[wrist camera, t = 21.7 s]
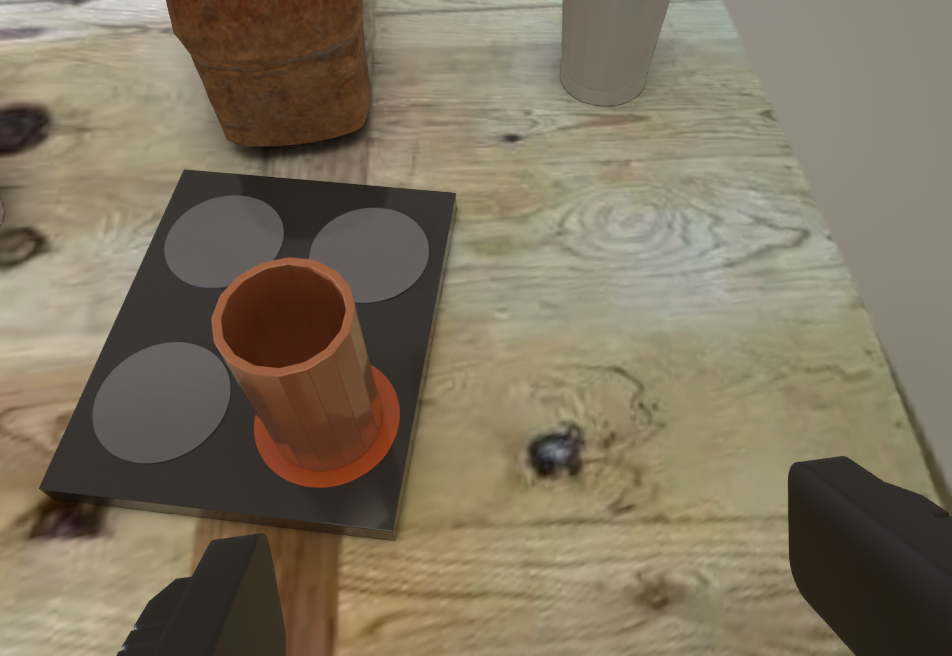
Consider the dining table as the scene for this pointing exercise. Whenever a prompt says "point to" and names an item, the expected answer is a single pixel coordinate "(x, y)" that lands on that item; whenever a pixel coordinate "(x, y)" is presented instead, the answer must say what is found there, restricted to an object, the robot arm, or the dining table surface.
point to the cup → (608, 47)
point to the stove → (212, 383)
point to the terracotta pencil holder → (301, 360)
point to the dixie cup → (1, 212)
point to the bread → (278, 66)
